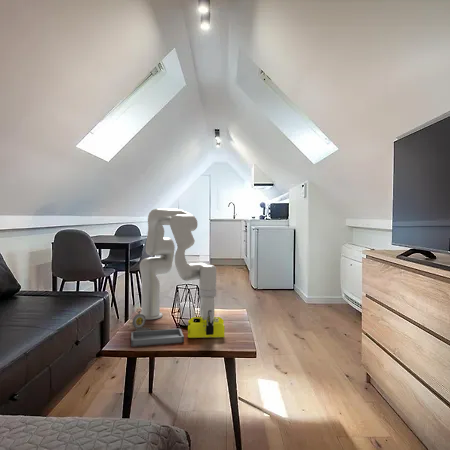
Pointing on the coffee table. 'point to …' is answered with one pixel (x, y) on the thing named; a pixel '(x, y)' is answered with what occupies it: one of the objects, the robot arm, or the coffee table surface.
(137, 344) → the tray
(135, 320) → the pocket watch
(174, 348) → the coffee table surface
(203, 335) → the yellow toy chassis
